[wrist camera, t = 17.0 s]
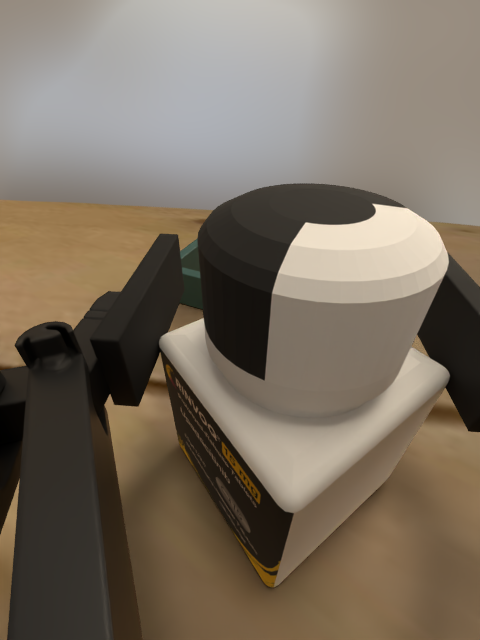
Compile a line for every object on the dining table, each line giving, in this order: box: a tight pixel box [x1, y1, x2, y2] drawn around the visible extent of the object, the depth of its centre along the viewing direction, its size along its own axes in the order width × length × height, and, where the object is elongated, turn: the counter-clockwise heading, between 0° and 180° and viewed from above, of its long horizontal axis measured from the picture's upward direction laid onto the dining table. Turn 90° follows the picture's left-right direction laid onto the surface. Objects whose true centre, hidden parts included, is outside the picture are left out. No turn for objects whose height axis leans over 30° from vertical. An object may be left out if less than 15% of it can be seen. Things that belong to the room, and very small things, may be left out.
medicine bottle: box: [159, 184, 450, 588], centre depth 11 cm, size 7×7×12 cm
